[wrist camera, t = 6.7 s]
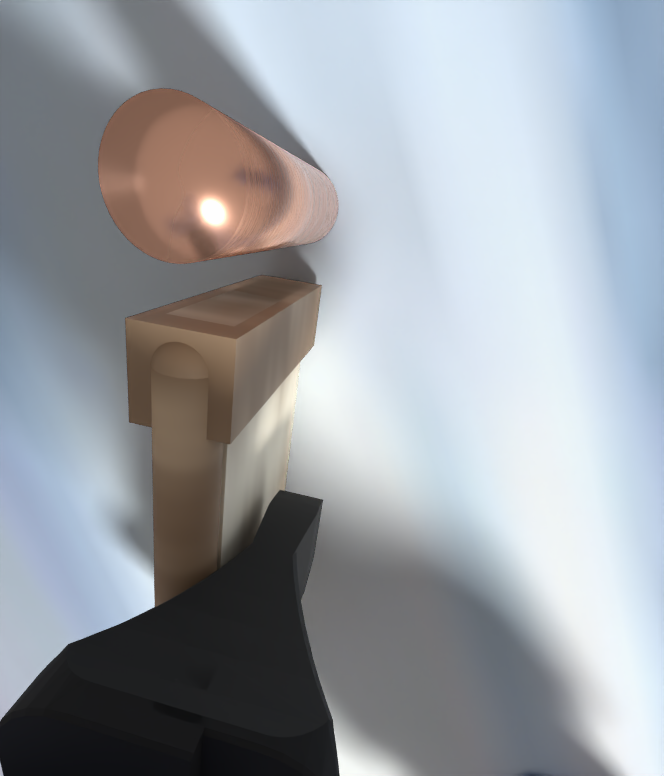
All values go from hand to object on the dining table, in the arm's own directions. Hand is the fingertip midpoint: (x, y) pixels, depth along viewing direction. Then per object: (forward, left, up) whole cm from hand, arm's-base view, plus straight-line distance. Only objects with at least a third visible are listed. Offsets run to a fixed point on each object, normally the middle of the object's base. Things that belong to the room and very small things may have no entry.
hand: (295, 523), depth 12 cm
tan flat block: (-1, +2, -3) cm, 3 cm away
